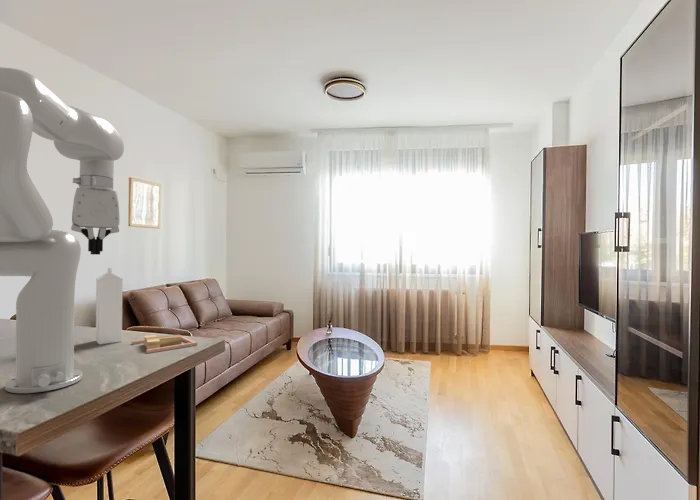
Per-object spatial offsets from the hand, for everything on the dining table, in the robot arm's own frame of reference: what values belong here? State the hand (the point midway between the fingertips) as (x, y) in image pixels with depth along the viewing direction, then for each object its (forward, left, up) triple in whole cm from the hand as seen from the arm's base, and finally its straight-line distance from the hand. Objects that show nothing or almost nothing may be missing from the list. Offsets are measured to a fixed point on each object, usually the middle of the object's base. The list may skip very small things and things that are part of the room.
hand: (95, 254), depth 104 cm
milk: (+14, -6, -27) cm, 30 cm away
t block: (-3, -17, -26) cm, 31 cm away
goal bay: (-1, -16, -26) cm, 31 cm away
